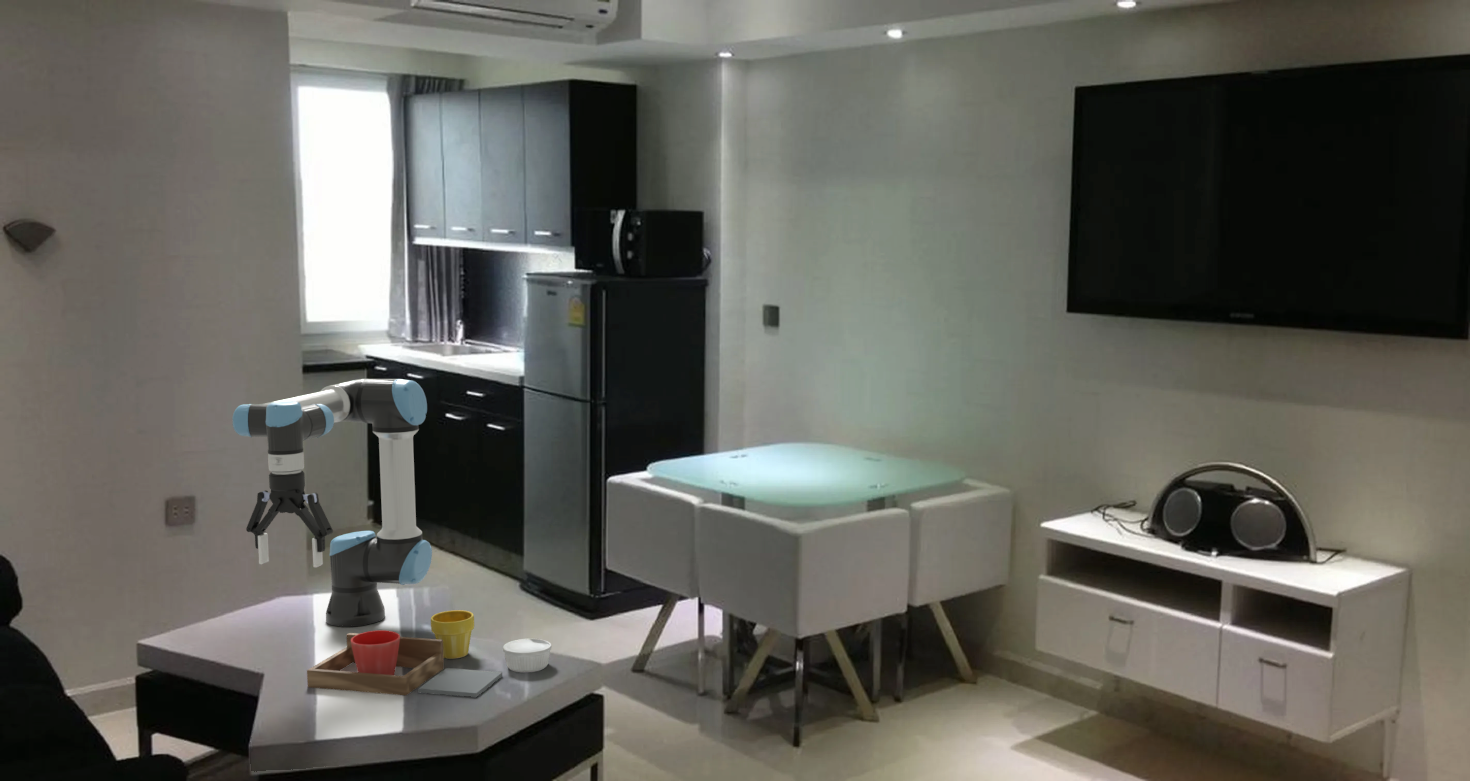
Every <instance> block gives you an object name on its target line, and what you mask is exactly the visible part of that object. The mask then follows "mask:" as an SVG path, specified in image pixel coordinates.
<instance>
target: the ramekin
mask: <svg viewBox="0 0 1470 781" xmlns="http://www.w3.org/2000/svg"><path fill="white" fill-rule="evenodd" d="M551 650H552V643H551V642H550V641H548V640H545V639H541V638H528V637H527V638H519V639H515V640H511V641H508V642H506V643H505V644H504V645H503V646H502V651H503V653H504V658H505V661H506V662H505V663H506V666H507V668H508V669H509V670H510V671H513V672H515V673H535V672H540V671H541V670H544V669H545V668H547V666H548V664H549V660H550V655H551Z"/></svg>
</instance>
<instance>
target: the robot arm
mask: <svg viewBox="0 0 1470 781" xmlns="http://www.w3.org/2000/svg"><path fill="white" fill-rule="evenodd" d="M427 412H428V403H427V397H426V394H425V392H424V389H423V388H422V387H421V385H420V384H419V383H417V382H416V381H415V380H412V379H411V380H410V379H403V378H358V379H353V380H348V381H342V382H340V383H335V384H330V385H327V386H325V387H323V388H321V389H320V391H317V392H312V393H308V394H303V395H297V396H295V397H294V396H293V397H290V398H285V399H280V400H275V401H270V402H266V403H264V402H263V403H259V404H256V403H249V404H247V403H246V404H240V405H238V406H237V407H236V408H235V410H234V411H233V414H232V418H231V419H232V427H233V430H234V432H235V433H236V434H238V436H241V437H249V438H254V437H255V438H267V459H268V460H267V461H268V471H269V472H270V473H269V474H268V484H269V485H268V486H269V489H270V492H269V491H268V490H262V491H260V492H258V493H257V495H256V496H257V497H256V498H257V499H256V503H255V506H254V508H253V510H252V513H251V516H250V518H249V521H248V524H247V525H246V528H245V530H246V532H247V533H252V534H253V535H254V544H255V549H258V552H257V553H258V565H263V564H266V563H269V562H270V553H269V552H270V551H269V550H270V549H269V536H268V535H269V534H268V532H267V531H266V530H267V529H268V527H269V526H270V525H271V523H272V522H273V521H274V519H275V518H276V517H277V515H278V514H279V513H280V514H284V513H287V514H295V516H298V517H299V518H300V519H301V520H302V523H304V524H305V526H306V527H307V529H308V530H309V531H310V532H311V533H312V535H313V536H314V537H312V538H311V543H312V544H311V545H312V546H311V547H312V548H311V549H312V566H313V567H312V568H318V567H320V566H323V565H324V559H323V553H324V552H325V550H326V536H329V535H332V534H333V532H334V530H333V527H332V526H331V524H330V521H329V520H328V517H327V515H326V513H325V512H324V510H323V507H322V505H321V503H320V499H319V494H318V493H317V492H313V493H307V494H306V492H305V488H306V478H305V477H306V474H305V472H304V469H305V456H304V441H307V440H311V439H315V438H318V439H319V438H320V437H323V436H325V435H326V434H328V433H329V432H331V430H332V429H333V427H334V423H339V422H349V423H359V424H372V433H373V434H374V435H375V436H376V437H378V443H379V444H378V449H379V474H380V476H379V478H380V499H381V521H382V522H381V526H382V527H381V529H380V530H379V531H378V532H377V533H376V532H374V530H361V531H359V530H358V531H353V532H349V533H344V534H342V535H341V534H340V535H338V536H336V537H334V538H333V539H332V540H331V541H330V544H329V563H330V565H329V566H330V580H331V584H330V585H331V594H330V598H329V600H328V604H327V608H326V612H325V621H326V623H327V624H328V625H330V626H334V627H346V628H347V627H359V626H360V627H361V626H367V625H370V624H375V623H378V622H380V621H382V620H383V619H385V617H386V611H385V610H386V609H385V605H384V603H383V601H382V598H381V595H380V592H379V590H378V583H379V584H394V585H395V584H396V585H402V586H406V585H416V584H419V583H420V582H422V581H423V580H424V579H425V577H426V576H427V574H428V571H429V570H430V567H431V564H432V557H433V548H432V546H431V543H430V542H429V541H427V540H426V539H423V531H422V530H421V529H420V528H419V527H418V526H417V517H416V516H417V515H416V512H417V511H416V485H415V483H416V482H415V462H414V461H415V459H414V435H416V434H417V433H418V431H419V430H420V428H419V427H420V426H419V425H422V424H423V423H424V422H425V420H426V417H427V416H426V415H427ZM269 501H270V502H271V503H272V504H271V506H270V507H269V509H268V510H267V512H266V514H265V515H264V513H265V510H266V508H267V506H268V502H269ZM305 502H306V503H305ZM306 504H308V505H306ZM309 510H310V511H311V512H310V511H309ZM263 515H264V516H263ZM262 517H263V518H262Z"/></svg>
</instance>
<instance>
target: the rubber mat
mask: <svg viewBox="0 0 1470 781" xmlns="http://www.w3.org/2000/svg"><path fill="white" fill-rule="evenodd" d="M499 678H500V679H502V678H503V672H502V671H490V670H489V671H487V670H475V669H467V668H466V669H463V668H452V667H451V668H449V667H446V668H445V669H442V670H441V671H440V672H438V673H437V674H435V675H434V676H433V677H431V678H430V679H429V680H427V681H426V682H424V683H423V684H422V685H420V686H419V687H417V691H418V692H419V694H427V693H434V694H433V695H440V694H446V695H445V696H452V695H457V696H456V697H464V696H471V697H470V698H476V697H477V696H478V695H479V694H480V695H481V693H482V692H483V693H484V692H485V691H487V690H488V689H489V688H491V686H492V684H493V683H494V682H495V681H496V682H497V681H499V680H500V679H499ZM498 679H499V680H498ZM496 682H495V683H496ZM495 683H494V684H495ZM494 684H493V685H494ZM490 685H491V686H490ZM488 687H489V688H488ZM487 688H488V689H487ZM418 692H417V693H418ZM420 692H421V693H420ZM483 693H482V694H483ZM458 695H460V696H458ZM480 695H479V696H480ZM479 696H478V697H479ZM478 697H477V698H478Z"/></svg>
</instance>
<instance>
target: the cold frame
mask: <svg viewBox="0 0 1470 781" xmlns="http://www.w3.org/2000/svg"><path fill="white" fill-rule="evenodd" d="M358 634H359V633H356V632H354V633H353V632H349V633H347V634H346V647H344V648H342V649H341V650H339V651H337V652H335V653H333V654H332V655H331V656H329V657H327V658H325V659H324V660H322V661H320V662H318V663H317V664H315V665H313V666H312V667H309V668H308V669H306V678H307V679H306V680H307V688H310V689H311V688H312V689H322V690H323V689H324V690H325V689H326V690H336V691H347V692H361V693H372V694H382V695H383V694H385V695H395V696H396V695H397V696H408V695H409V694H411V693H412V692H413V691H415V690H416V689H418V688H420V687H421V686H422V685H424V684H425V683H426V682H428V681H429V680H431V679H432V678H433V677H435V676H436V675H437V674H439V673H440V672H442V671H443V670H444V669H443V668H445V667H444V665H445V664H444V658H443V640H440V639H436V638H427V637H426V638H424V637H411V636H408V637H407V636H400V643H399V650H398V657H397V663H396V668H397V667H398V668H408V669H412V670H410V671H408V672H407V673H405V674H404V675H385V674H373V673H360V672H358V671H346V670H345V668H347V667H349V666H350V665H352V664H355V665H356V663H355V659H354V655H353V650H352V646H351V638H352V637H354V636H355V635H358ZM425 681H426V682H425ZM421 684H422V685H421ZM410 692H411V693H410Z"/></svg>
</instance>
